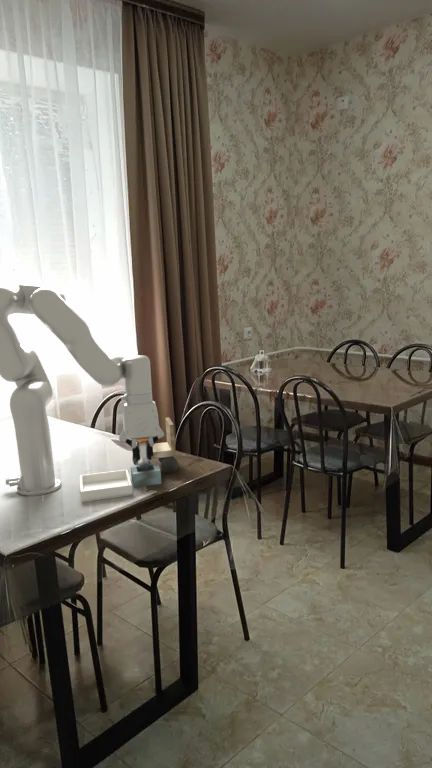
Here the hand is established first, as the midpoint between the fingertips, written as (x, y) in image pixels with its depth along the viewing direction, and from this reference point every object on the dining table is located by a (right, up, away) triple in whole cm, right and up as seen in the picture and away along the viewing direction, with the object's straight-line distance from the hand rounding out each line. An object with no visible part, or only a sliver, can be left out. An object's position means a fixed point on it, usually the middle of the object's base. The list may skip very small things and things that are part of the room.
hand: (143, 458), depth 186 cm
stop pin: (0, -5, +1) cm, 5 cm away
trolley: (+3, -5, +7) cm, 10 cm away
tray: (-10, -8, -4) cm, 14 cm away
